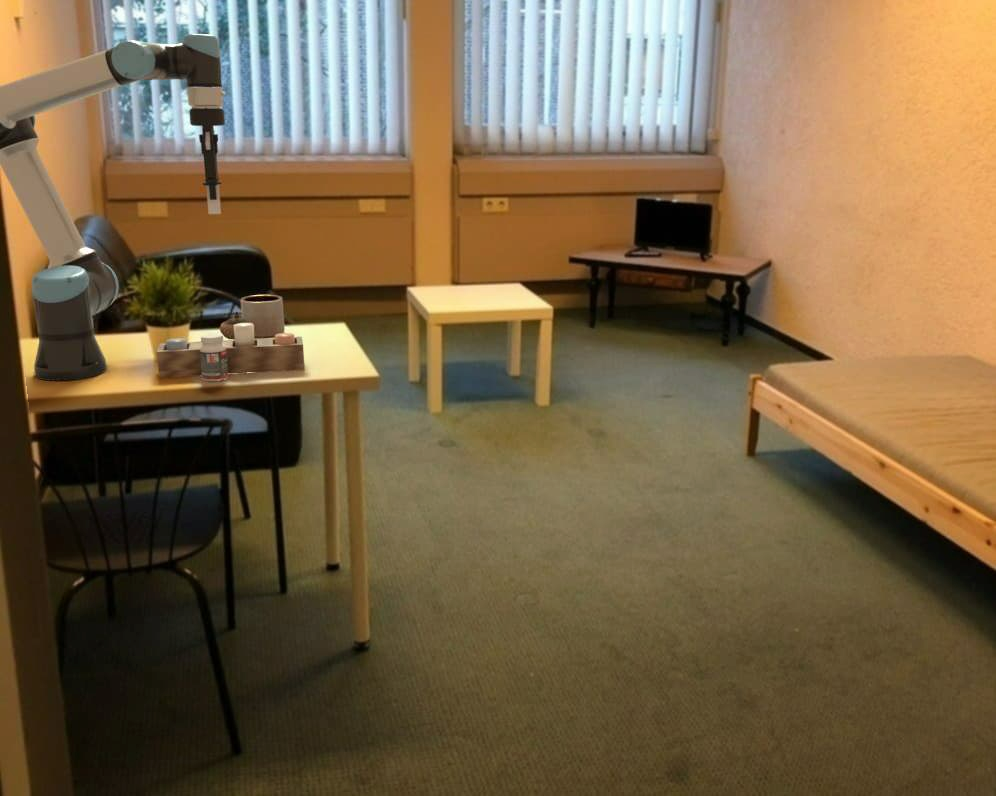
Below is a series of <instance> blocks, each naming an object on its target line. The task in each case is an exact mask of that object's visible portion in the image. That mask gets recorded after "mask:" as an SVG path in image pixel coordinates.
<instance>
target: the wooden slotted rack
mask: <svg viewBox="0 0 996 796" xmlns="http://www.w3.org/2000/svg"><path fill="white" fill-rule="evenodd" d="M254 339H255V346H238V347H235V340H234V339H223V341H222V344H224V345H225V346H226V353H227V366H228V373H238V374H248V373H247V372H256V373H269V372H268V371H274V372H289V371H305V354H304V353H305V352H304V351H305V350H304V343H303V337H302V336H294V340H295V344H277V345H275V337H269V338H254ZM186 342H187V341H186ZM202 345H203V343H202V342H201V341H188V342H187V349H179V350H167V346H166V342H165V343H159V345H158V348H157V349H156V359H157V360H156V361H157V370H158V378H159V377H168V378H181V377H183V376H185V377H198V376H200V377H202V376H201V375H202V373H201V361H200V347H201V346H202ZM183 378H184V377H183Z"/></svg>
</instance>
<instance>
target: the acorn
mask: <svg viewBox="0 0 996 796" xmlns="http://www.w3.org/2000/svg"><path fill="white" fill-rule="evenodd" d="M239 323H251V322H249V321H247V320H246V319H244V318H242V317H240V315H239V313H238V311H235V315H234V316H233V317H230V318H228V319H227V320H225V321H223V322H222V323H221V324H220V326H219V331H220V334H222V335H223V338H225V339H226V340H235V337H234V325H235V324H239ZM252 324H253V323H252ZM253 325H254V324H253ZM254 330H255V326H254Z"/></svg>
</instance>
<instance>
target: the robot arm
mask: <svg viewBox="0 0 996 796" xmlns="http://www.w3.org/2000/svg"><path fill="white" fill-rule="evenodd" d="M182 39H183V41H182V43H176V44H172V43H171V44H170V43H153V42H147V41H145V42H144V41H141V40H137V39H135V40H134V39H128V40H122V41H120V42H119V43H118V44H116V45H115V46H114V47H112V48H109V49H106V50H103V51H100V52H97V53H94V54H91V55H87V56H86V57H82V58H79V59H75V60H72V61H70V62H67V63H65V64H64V63H63V64H61V65H58V66H54V67H53V68H50V69H46V70H44V71H40V72H38V73H35V74H31V75H29V76H26V77H22V78H20V79H17V80H14V81H11V82H7V83H6V84H2V85H0V167H1V170H2V171H3V173H4V175H5V177H6V179H7V180H8V183H9V184H10V187H11V188H12V191H13V193H14V194H15V196H16V198H17V200H18V202H19V204H20V205H21V208H22V209H23V211H24V214H25V215H26V218H27V219H28V220H29V223H30V225H31V227H32V229H33V231H34V232H35V234H36V236H37V238H38V240H39V243H40V244H41V246H42V248H43V250H44V251H45V254H46V255H47V257H48V259H49V263H48V265H47V268H43V269H40V270H39V271H37V272H35V273H34V275H33V276H32V277H31V295H32V300H33V307H34V313H35V314H34V315H35V321H36V327H37V333H38V346H37V350H36V356H35V360H34V365H33V366H34V367H33V369H34V376H35V377H36V378H38V379H41V380H46V381H73V380H79V379H80V380H81V379H86V378H90V377H94V376H97V375H100V374H102V373H104V372H106V370H107V361H106V358H105V356H104V353H103V351H102V349H101V346H100V345H99V343H98V341H97V339H96V335H95V330H94V320H93V316H95V315H96V314H99V313H101V312H104V311H105V310H106V309H108V308H109V307H110V306H111V305H112V304H113V302H115V300H116V298H117V296H118V293H119V288H120V287H119V279H118V277H117V275H116V273H115V271H114V270H113V269H112V268H111V267H110V266H109V264H108V265H107V264H105V263H104V262H102V260H101V259H100V257H99V255H98V253H97V251H96V250H95V249H93V248H90V247H88V246H86V244H85V242H84V240H83V238H82V236H81V234H80V231H79V230H78V229H77V227H76V225H75V222H74V221H73V219H72V217H71V215H70V212H69V210H68V209H67V207H66V204H65V203H64V201H63V199H62V197H61V195H60V193H59V191H58V189H57V187H56V186H55V184H54V182H53V180H52V177H51V176H50V174H49V172H48V169H47V167H46V165H45V164H44V162H43V159H42V158H41V156H40V154H39V151H38V149H37V147H38V145H39V141H40V139H39V137H38V135H37V132H36V130H35V125H36V116H37V115H40V114H42V113H45V112H48V111H51V110H54V109H57V108H60V107H62V106H63V107H64V106H66V105H69V104H72V103H74V102H77V101H81V100H83V99H86V98H89V97H92V96H94V95H99V94H101V93H104V92H107V91H110V90H113V89H116V88H119V87H121V86H125V85H129V84H131V83H134V82H137V81H141V80H143V81H154V80H158V81H159V80H160V81H164V80H165V81H166V80H169V81H170V80H186V85H187V86H186V90H187V92H186V93H187V101H188V102H187V103H188V106H189V107H191V108H190V109H189V111H188V112H189V121H190V122H189V124H190V126H194V127H201V128H202V129H201V131H202V133H199V134H198V137H199V138H198V139H199V142H200V145H201V146H200V148H201V154H202V155H203V165H204V175H205V180H204V182H203V183H202V185H203V186H206V189H205V190H206V201H207V211H208V215H221V214H222V211H221V210H222V209H221V197H220V186H219V185H222V180H220V177H219V172H218V159H217V158H218V156H217V154H218V152H219V147H218V141H219V134H218V133H215V128H214V127H217V126H219V127H220V126H224V125H225V110H224V108H221V107H223V105H224V99H223V97H226V92H225V91H223V85H222V84H223V83H222V82H223V81H222V70H221V68H222V66H221V58H222V57H221V53H220V47H219V40H218V38H217V36H215V35H213V34H207V33H205V34H203V33H202V34H201V33H193V34H190V33H189V34H184V35H183V37H182ZM219 180H220V181H219Z"/></svg>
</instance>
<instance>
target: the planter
mask: <svg viewBox="0 0 996 796" xmlns="http://www.w3.org/2000/svg"><path fill="white" fill-rule="evenodd" d="M240 311H241V318H244V319H246V320H247V321H249V322H251V323H253V324H254V326H255V330H254V339H263V338H275V335H276V334H280V333H285V319H284V318H285V316H284V315H285V314H284V304H283V297H282V296H280V295H277V294H255V295H247V296H243V297H242V298H241V299H240Z"/></svg>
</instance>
